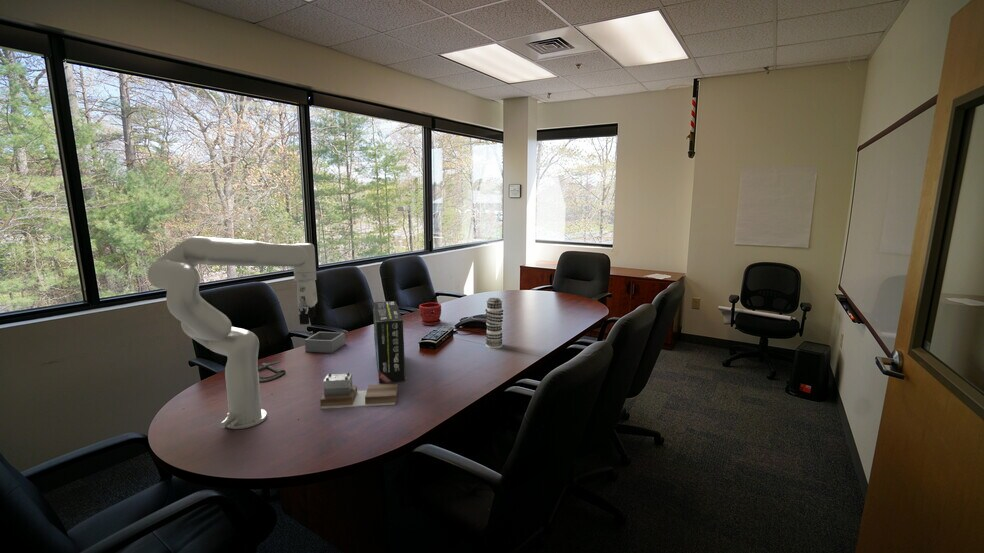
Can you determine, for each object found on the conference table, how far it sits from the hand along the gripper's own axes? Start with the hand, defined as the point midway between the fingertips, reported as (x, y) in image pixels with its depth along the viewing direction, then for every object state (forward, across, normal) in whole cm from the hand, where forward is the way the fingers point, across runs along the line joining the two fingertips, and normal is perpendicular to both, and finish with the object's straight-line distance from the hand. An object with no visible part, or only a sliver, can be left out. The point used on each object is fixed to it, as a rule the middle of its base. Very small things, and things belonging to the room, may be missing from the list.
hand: (308, 320), depth 168 cm
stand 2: (+28, -9, -28) cm, 41 cm away
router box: (+29, +22, -28) cm, 45 cm away
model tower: (+28, +46, -79) cm, 96 cm away
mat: (+28, -9, -20) cm, 36 cm away
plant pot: (+29, +93, -46) cm, 108 cm away
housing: (+25, -10, -12) cm, 29 cm away
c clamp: (+29, +22, +23) cm, 43 cm away
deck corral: (+28, +54, +6) cm, 61 cm away
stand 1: (+28, -9, -12) cm, 32 cm away
